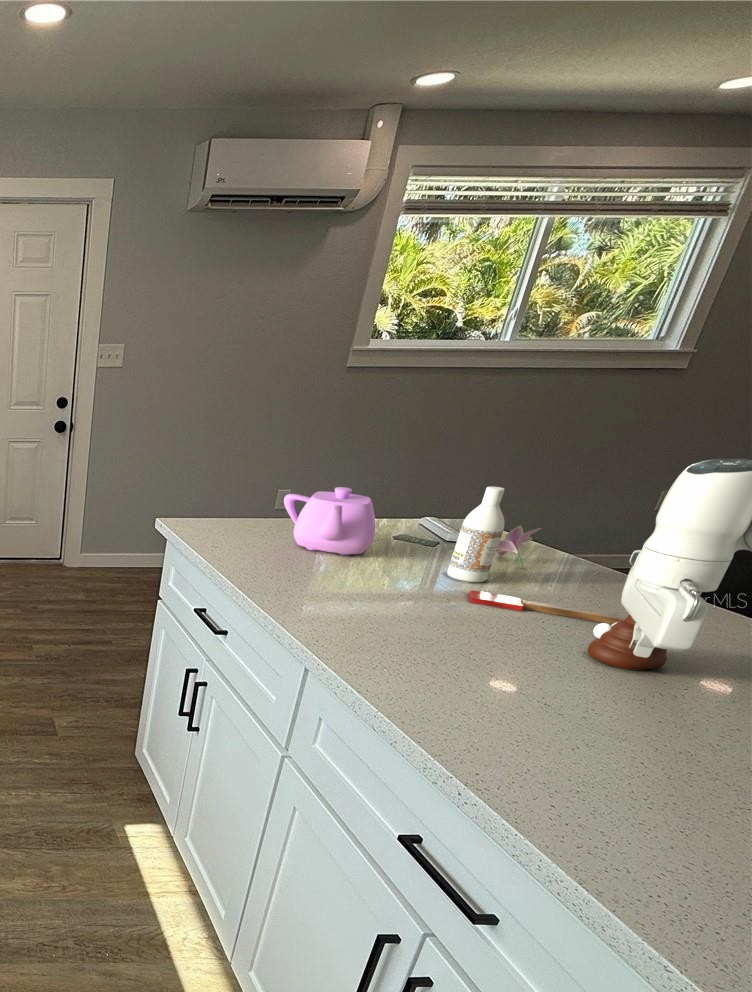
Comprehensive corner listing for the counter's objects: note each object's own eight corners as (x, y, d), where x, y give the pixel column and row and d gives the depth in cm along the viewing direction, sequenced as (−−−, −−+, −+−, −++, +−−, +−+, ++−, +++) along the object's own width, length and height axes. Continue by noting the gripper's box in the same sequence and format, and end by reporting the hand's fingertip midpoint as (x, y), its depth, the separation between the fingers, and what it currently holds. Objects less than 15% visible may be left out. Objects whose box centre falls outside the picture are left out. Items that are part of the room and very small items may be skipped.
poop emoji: (624, 675, 100) (649, 621, 96) (569, 650, 108) (590, 600, 104) (678, 671, 101) (705, 617, 97) (619, 646, 109) (642, 596, 105)
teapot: (281, 531, 172) (292, 476, 166) (372, 544, 161) (387, 485, 155) (265, 554, 155) (277, 493, 149) (365, 570, 144) (382, 505, 138)
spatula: (614, 618, 119) (617, 612, 119) (621, 628, 115) (623, 622, 115) (468, 594, 131) (470, 588, 130) (470, 602, 127) (472, 596, 126)
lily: (534, 564, 149) (523, 525, 150) (564, 560, 138) (552, 518, 139) (474, 576, 153) (464, 537, 154) (499, 573, 142) (488, 532, 143)
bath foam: (468, 584, 135) (499, 492, 128) (438, 573, 142) (466, 485, 134) (493, 581, 137) (526, 490, 129) (463, 570, 143) (492, 483, 135)
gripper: (736, 598, 84) (689, 688, 89) (685, 555, 100) (648, 634, 105) (669, 588, 87) (628, 675, 93) (630, 548, 103) (596, 625, 108)
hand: (638, 653), depth 99 cm, fingers closed
